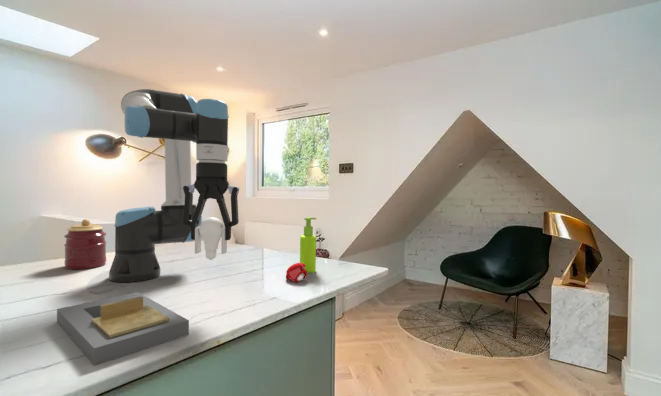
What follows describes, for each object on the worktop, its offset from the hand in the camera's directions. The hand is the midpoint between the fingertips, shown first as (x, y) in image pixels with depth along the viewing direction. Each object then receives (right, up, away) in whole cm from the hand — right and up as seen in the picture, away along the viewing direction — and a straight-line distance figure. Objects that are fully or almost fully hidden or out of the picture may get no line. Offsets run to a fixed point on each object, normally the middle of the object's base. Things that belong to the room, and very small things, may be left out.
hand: (211, 252), depth 88 cm
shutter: (-11, -12, -17) cm, 23 cm away
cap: (+19, -14, +27) cm, 36 cm away
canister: (-62, -12, +42) cm, 76 cm away
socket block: (-15, -14, -13) cm, 25 cm away
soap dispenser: (+22, -13, +40) cm, 48 cm away
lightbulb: (0, -2, 0) cm, 2 cm away
